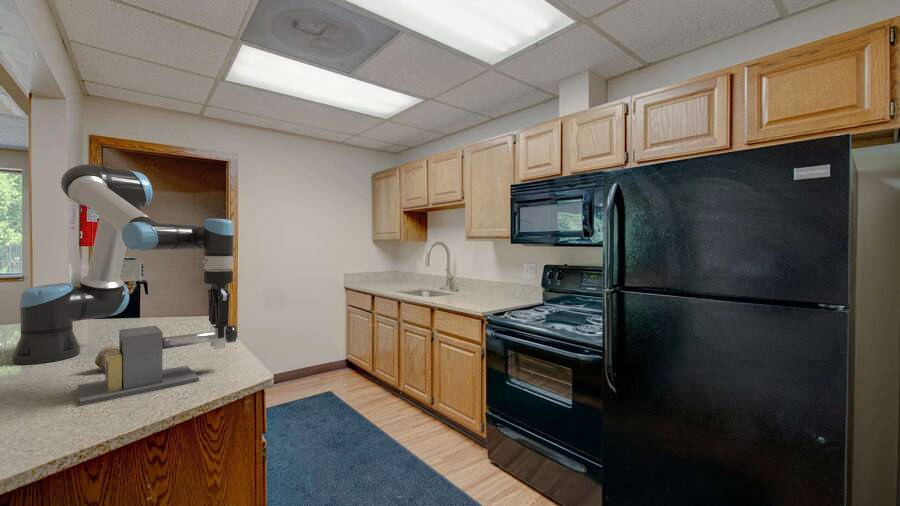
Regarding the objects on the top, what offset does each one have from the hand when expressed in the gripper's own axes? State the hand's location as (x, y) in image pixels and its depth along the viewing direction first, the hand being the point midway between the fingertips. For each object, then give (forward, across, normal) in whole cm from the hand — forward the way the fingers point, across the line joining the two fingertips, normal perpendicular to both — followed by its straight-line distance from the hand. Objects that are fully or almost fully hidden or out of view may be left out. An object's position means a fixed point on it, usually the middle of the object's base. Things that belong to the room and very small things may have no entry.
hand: (218, 346), depth 117 cm
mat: (+7, 0, -18) cm, 20 cm away
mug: (+7, -19, -21) cm, 29 cm away
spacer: (+6, 0, -24) cm, 25 cm away
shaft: (-1, 0, -8) cm, 8 cm away
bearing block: (+7, 0, -18) cm, 20 cm away
